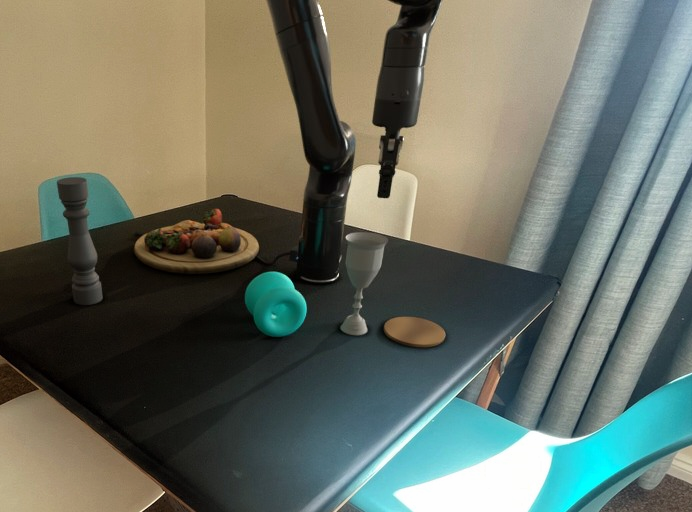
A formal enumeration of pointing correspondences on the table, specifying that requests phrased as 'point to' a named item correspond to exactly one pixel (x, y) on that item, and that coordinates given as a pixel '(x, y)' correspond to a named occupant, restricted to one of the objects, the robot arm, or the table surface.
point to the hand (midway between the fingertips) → (383, 191)
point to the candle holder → (80, 241)
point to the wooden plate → (197, 246)
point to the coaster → (414, 331)
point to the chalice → (362, 272)
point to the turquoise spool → (275, 304)
